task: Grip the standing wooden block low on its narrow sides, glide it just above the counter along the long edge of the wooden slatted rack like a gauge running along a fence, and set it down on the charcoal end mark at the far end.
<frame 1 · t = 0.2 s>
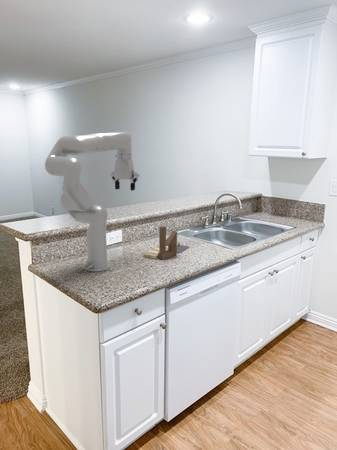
hand: (125, 189, 184), 36 cm above the worktop, tool pointing down, fingers open, 9 cm apart
wooden slatted rack: (162, 251, 199), on the worktop
wooden block: (167, 257, 188), on the worktop
end mark: (180, 249, 203), on the worktop
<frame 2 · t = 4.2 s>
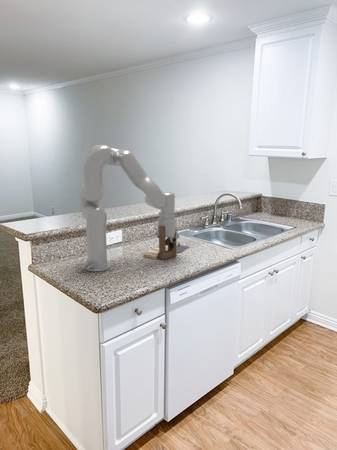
hand: (167, 247, 187), 5 cm above the worktop, tool pointing down, fingers closed on wooden block, 4 cm apart
wooden block: (167, 257, 188), on the worktop, touching gripper
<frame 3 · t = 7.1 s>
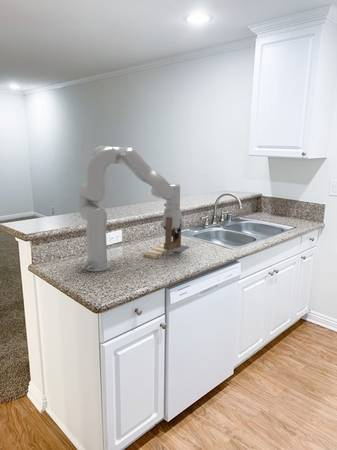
hand: (172, 238, 192), 9 cm above the worktop, tool pointing down, fingers closed on wooden block, 4 cm apart
wooden block: (172, 248, 193), point 3 cm above the worktop, touching gripper
when the fingers open (6 cm above the worktop, at t = 10.5 s): wooden block stays where it is, resting on end mark.
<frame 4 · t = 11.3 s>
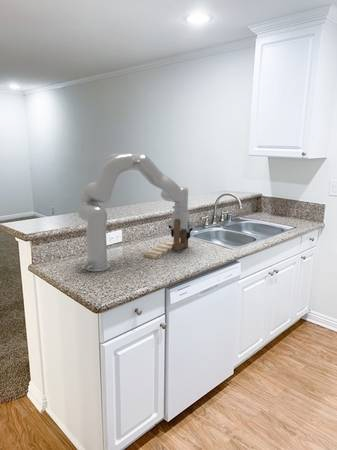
hand: (180, 237, 201), 7 cm above the worktop, tool pointing down, fingers open, 9 cm apart
wooden block: (180, 249, 203), resting on end mark
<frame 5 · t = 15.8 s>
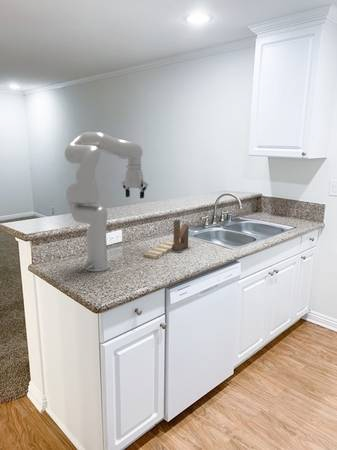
hand: (134, 197, 199), 30 cm above the worktop, tool pointing down, fingers open, 9 cm apart
nothing on the worktop moved.
at the end: wooden block inside the target area (0.2 cm from its centre), on the worktop; wooden block tilted 0°; the gripper is holding nothing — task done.
